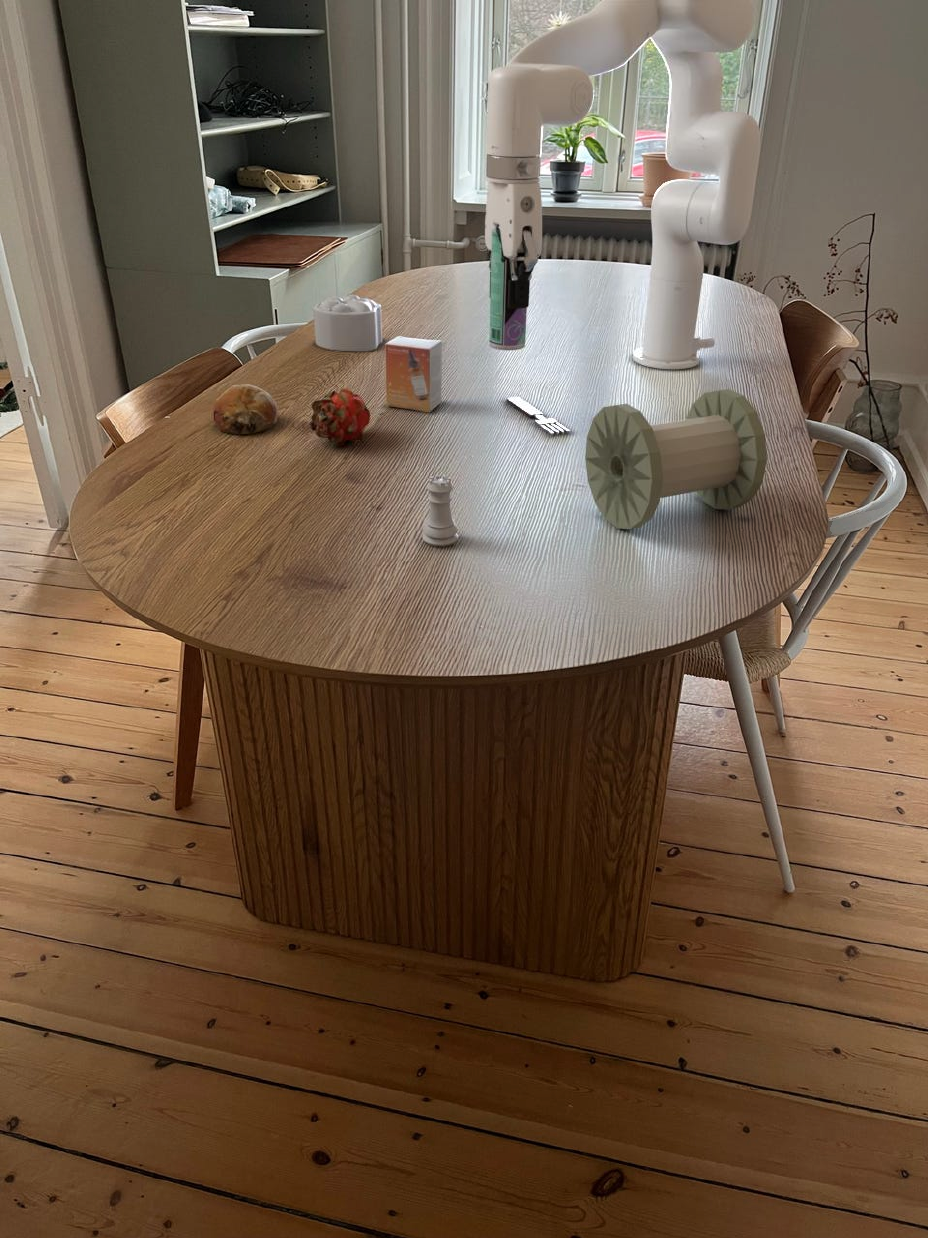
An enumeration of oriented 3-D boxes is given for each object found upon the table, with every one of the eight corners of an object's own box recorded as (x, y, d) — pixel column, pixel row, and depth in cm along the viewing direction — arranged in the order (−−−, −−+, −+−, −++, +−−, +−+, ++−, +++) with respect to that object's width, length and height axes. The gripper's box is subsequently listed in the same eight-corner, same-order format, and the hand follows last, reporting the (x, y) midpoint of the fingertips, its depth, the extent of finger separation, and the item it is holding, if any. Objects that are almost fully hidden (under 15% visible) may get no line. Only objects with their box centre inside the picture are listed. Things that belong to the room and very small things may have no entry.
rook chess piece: (421, 532, 116) (420, 472, 112) (457, 531, 117) (457, 471, 112) (422, 548, 112) (421, 487, 108) (460, 547, 113) (460, 486, 109)
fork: (503, 402, 159) (503, 398, 158) (520, 400, 160) (520, 396, 159) (551, 436, 145) (551, 431, 145) (569, 433, 146) (569, 428, 146)
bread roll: (286, 442, 151) (292, 392, 150) (254, 436, 142) (260, 382, 141) (232, 435, 154) (238, 385, 153) (197, 428, 144) (203, 375, 143)
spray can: (522, 351, 141) (528, 207, 130) (486, 349, 141) (489, 205, 131) (527, 341, 145) (533, 201, 135) (492, 339, 146) (496, 200, 136)
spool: (643, 548, 113) (658, 429, 105) (581, 500, 125) (590, 390, 117) (754, 525, 119) (776, 411, 111) (685, 482, 130) (700, 375, 123)
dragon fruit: (325, 466, 138) (348, 448, 149) (370, 435, 135) (390, 419, 146) (290, 416, 136) (316, 402, 147) (335, 384, 133) (358, 372, 144)
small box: (385, 407, 156) (383, 343, 151) (399, 396, 161) (397, 334, 155) (430, 413, 154) (429, 348, 148) (442, 402, 158) (442, 339, 153)
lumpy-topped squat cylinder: (372, 352, 183) (370, 306, 179) (308, 348, 185) (305, 303, 181) (385, 338, 192) (383, 294, 188) (324, 335, 194) (321, 291, 189)
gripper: (566, 175, 125) (558, 314, 135) (510, 162, 139) (506, 289, 148) (516, 177, 123) (511, 318, 132) (464, 163, 136) (462, 293, 145)
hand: (508, 301), depth 140 cm, fingers closed on spray can, 5 cm apart
